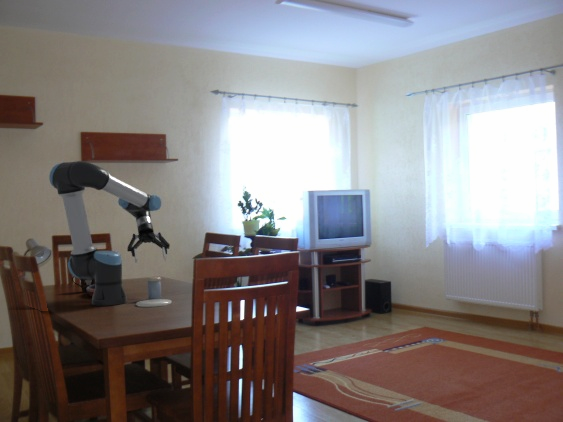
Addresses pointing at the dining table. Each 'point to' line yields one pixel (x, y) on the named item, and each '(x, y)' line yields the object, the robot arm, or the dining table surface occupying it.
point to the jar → (154, 288)
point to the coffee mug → (85, 283)
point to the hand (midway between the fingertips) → (150, 259)
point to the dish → (91, 290)
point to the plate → (153, 303)
